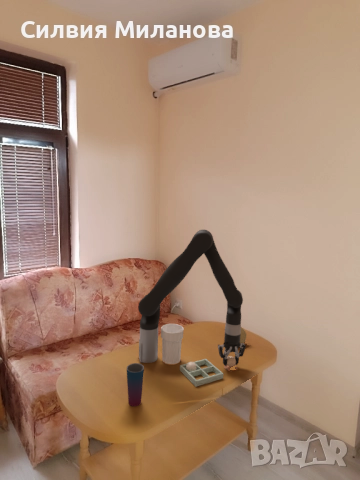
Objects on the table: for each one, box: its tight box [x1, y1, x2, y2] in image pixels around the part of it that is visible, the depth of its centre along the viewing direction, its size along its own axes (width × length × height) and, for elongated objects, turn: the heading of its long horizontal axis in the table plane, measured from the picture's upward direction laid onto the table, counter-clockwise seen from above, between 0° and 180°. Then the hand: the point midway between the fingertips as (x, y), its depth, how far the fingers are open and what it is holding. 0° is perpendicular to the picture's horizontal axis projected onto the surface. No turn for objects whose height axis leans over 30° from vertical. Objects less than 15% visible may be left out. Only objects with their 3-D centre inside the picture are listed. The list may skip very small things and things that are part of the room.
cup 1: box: [126, 362, 145, 407], centre depth 128 cm, size 7×7×15 cm
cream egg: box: [186, 361, 197, 372], centre depth 151 cm, size 5×5×5 cm
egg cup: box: [223, 364, 238, 372], centre depth 157 cm, size 6×6×2 cm
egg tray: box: [179, 358, 224, 387], centre depth 150 cm, size 15×15×3 cm
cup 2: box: [160, 323, 185, 366], centre depth 161 cm, size 11×11×17 cm
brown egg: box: [227, 355, 236, 367], centre depth 156 cm, size 5×5×5 cm
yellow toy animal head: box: [240, 326, 247, 344], centre depth 181 cm, size 10×12×11 cm
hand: (230, 364), depth 157 cm, fingers closed on brown egg, 5 cm apart
